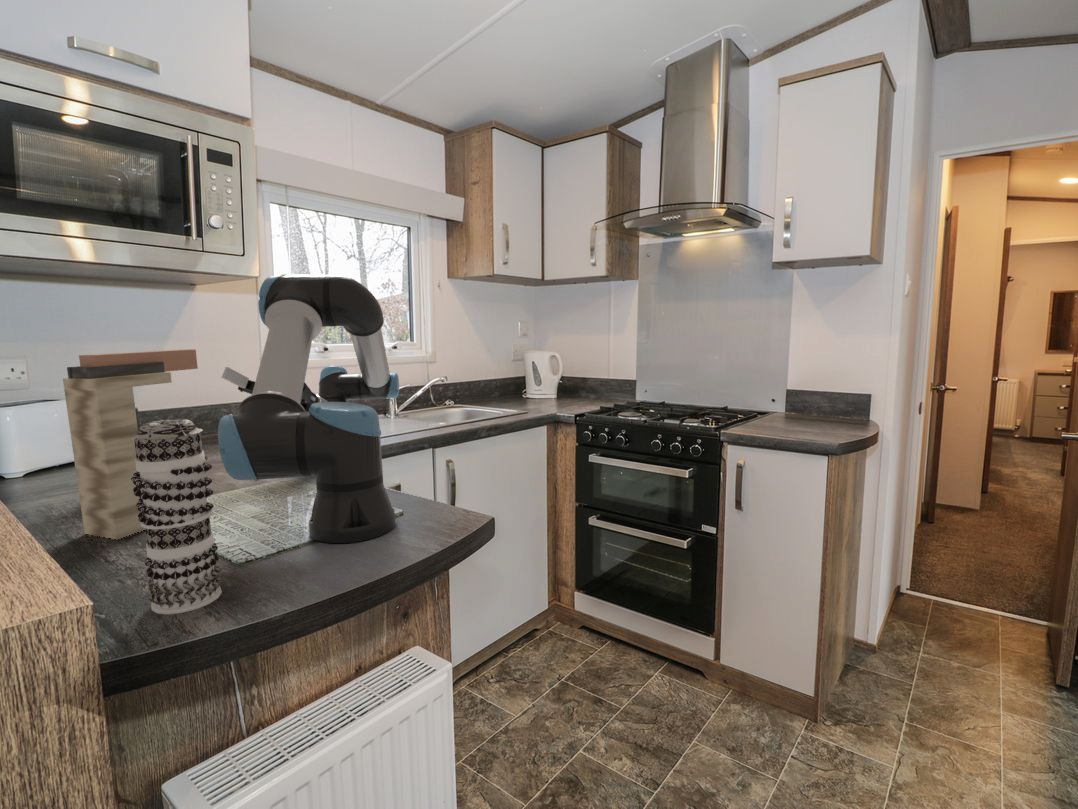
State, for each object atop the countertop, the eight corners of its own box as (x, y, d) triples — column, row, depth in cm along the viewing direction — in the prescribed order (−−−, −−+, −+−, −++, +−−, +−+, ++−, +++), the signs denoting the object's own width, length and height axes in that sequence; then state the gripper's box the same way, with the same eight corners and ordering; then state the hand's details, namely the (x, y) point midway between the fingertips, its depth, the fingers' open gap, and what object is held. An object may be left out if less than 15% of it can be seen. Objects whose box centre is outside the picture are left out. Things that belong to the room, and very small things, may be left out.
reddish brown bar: (197, 368, 120) (195, 349, 119) (97, 378, 101) (94, 355, 100) (183, 368, 121) (181, 349, 120) (81, 377, 102) (78, 355, 102)
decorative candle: (228, 579, 86) (210, 414, 82) (221, 606, 77) (201, 424, 74) (156, 591, 82) (134, 419, 78) (140, 621, 74) (115, 430, 70)
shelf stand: (186, 515, 115) (169, 361, 111) (117, 540, 103) (94, 367, 98) (156, 511, 118) (137, 361, 114) (84, 534, 106) (61, 367, 102)
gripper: (342, 421, 146) (282, 388, 127) (267, 417, 155) (201, 386, 136) (350, 394, 148) (292, 358, 130) (276, 392, 157) (213, 357, 139)
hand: (245, 372), depth 133 cm, fingers open, 13 cm apart
